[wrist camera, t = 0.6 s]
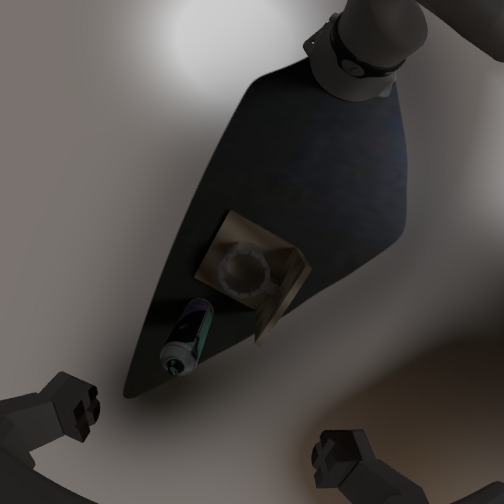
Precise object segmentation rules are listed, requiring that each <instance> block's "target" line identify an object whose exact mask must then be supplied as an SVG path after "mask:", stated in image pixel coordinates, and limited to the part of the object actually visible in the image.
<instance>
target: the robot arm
mask: <svg viewBox="0 0 504 504" xmlns="http://www.w3.org/2000/svg"><path fill="white" fill-rule="evenodd" d="M417 2H418V3H419V4H421V5H422V6H424V7H425V8H426V9H428V10H429V11H431V12H432V13H433V14H435V15H436V16H437V17H439V18H440V19H441V20H443V21H444V22H445V23H446V24H448V25H449V26H450V27H451V28H453V29H454V30H455V31H456V32H457V33H458V34H460V35H461V36H462V37H463V38H465V39H466V40H468V41H469V42H471V43H472V44H474V45H475V46H476V47H478V48H479V49H480V50H482V51H483V52H485V53H486V54H488V55H489V56H490V57H492V58H493V59H495V60H496V61H499V62H504V0H348V1H347V4H346V7H345V9H344V11H343V12H341V13H340V14H339V15H338V14H337V13H334V14H333V15H332V16H331V17H330V19H329V21H330V22H328V23H325V25H324V26H323V27H322V28H321V29H320V30H319V31H317V32H316V33H315V34H314V35H312V36H311V37H310V38H309V39H308V40H306V41H305V43H304V44H303V48H304V50H305V52H306V54H307V55H308V57H309V59H310V64H311V69H312V72H313V75H314V77H315V79H316V80H317V82H318V83H319V84H320V85H321V86H322V87H323V88H324V89H325V90H326V91H327V92H329V93H330V94H332V95H333V96H335V97H337V98H340V99H343V100H346V101H352V102H359V101H364V100H367V99H370V98H387V97H388V96H389V95H390V92H391V88H392V83H393V82H395V80H396V79H397V78H396V73H397V70H398V69H399V68H400V67H401V65H402V64H403V63H404V62H405V60H406V58H407V57H408V56H410V55H411V54H412V53H413V52H415V51H416V50H417V49H419V48H420V47H421V46H422V45H423V44H424V42H425V40H426V38H427V32H428V29H427V23H426V20H425V16H424V14H423V11H422V10H421V8H420V6H419V5H418V3H417ZM312 42H314V44H313V43H312ZM97 394H98V391H97V387H96V386H94V385H92V384H89V383H87V382H85V381H83V380H80V379H78V378H76V377H74V376H71V375H69V374H67V373H65V372H63V371H62V372H59V373H58V374H57V375H56V376H55V377H54V378H53V379H52V380H51V381H50V382H49V383H48V384H47V385H46V387H44V388H43V389H42V391H41V392H40V393H39V394H38V393H36V392H35V393H31V394H27V395H23V396H19V397H14V398H10V399H5V400H1V401H0V504H98V503H95V502H93V501H91V500H89V499H87V498H84V497H82V496H80V495H78V494H76V493H74V492H72V491H70V490H68V489H66V488H64V487H62V486H60V485H59V484H57V483H55V482H53V481H52V480H50V479H48V478H46V477H45V476H43V475H41V474H40V473H38V472H36V471H35V470H33V468H34V466H35V461H34V460H33V458H32V457H31V455H30V453H29V452H30V451H32V450H34V449H36V448H39V447H41V446H43V445H45V444H47V443H49V442H52V441H53V440H56V439H58V438H60V437H62V436H64V435H67V436H69V437H71V438H73V439H75V440H78V441H80V442H82V443H83V442H84V441H85V439H86V438H87V436H88V434H89V433H90V428H89V426H91V425H93V424H95V423H96V421H97V419H98V417H99V414H100V402H99V401H98V400H97V399H96V396H97ZM320 440H321V441H320V442H318V443H316V444H315V446H314V448H313V451H312V456H311V459H312V466H313V467H314V468H315V469H316V470H317V471H316V473H315V474H314V478H315V482H316V488H338V489H339V490H340V491H341V492H342V493H343V494H344V495H345V496H346V498H347V499H348V500H349V501H350V502H351V503H352V504H429V502H428V500H427V498H426V496H425V494H424V491H423V490H422V488H421V487H420V486H418V485H417V484H415V483H414V482H412V481H410V480H409V479H408V478H406V477H405V476H403V475H401V474H400V473H399V472H397V471H396V470H394V469H393V468H391V467H390V466H389V465H387V464H386V463H384V462H383V461H381V460H380V459H376V458H375V455H374V453H373V450H372V448H371V446H370V443H369V441H368V438H367V436H366V434H365V432H364V430H363V429H357V430H324V431H323V432H322V433H321V435H320ZM451 504H504V483H503V482H500V481H496V482H493V483H491V484H489V485H487V486H485V487H483V488H482V489H480V490H478V491H476V492H474V493H472V494H470V495H468V496H466V497H464V498H462V499H460V500H458V501H455V502H453V503H451Z"/></svg>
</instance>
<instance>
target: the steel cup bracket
mask: <svg viewBox="0 0 504 504" xmlns="http://www.w3.org/2000/svg"><path fill="white" fill-rule="evenodd" d="M238 254H250V255H252V256H254V257H255V258H257V259H259V260H260V262H261V263H262V265H263V267H264V270H263V271H262V273H261V274H260V276H259V277H258V278H256V279H254V280H252V281H240V280H238V279H236V278H234V277H233V276H232V275H231V273H230V271H229V270H228V260H229V259H231V258H232V257H234V256H236V255H238ZM218 271H219V282H220V283H221V285H222V286H223V288H224V289H225V291H226V292H228V293H230V294H231V295H233V296H235V297H237V298H252V297H254V296H256V295H258V294H260V293H262V292H265V293H267V294H269V295H271V296H273V297H274V295H275V294H276V292H277V291H278V289H279V288H280V284H279V281H278V280H276V279H275V278H273V277H271V276H270V264H269V258H268V256H267V254H266V253H265V251H264V249H263V248H262V247H261V246H259V245H257V244H255V243H253V242H238V243H236V244H234V245H232V246H231V247H229V248H228V250H227V252H226V253H225V255H224V257H223V259H222V261H221V263H220V265H219V267H218Z"/></svg>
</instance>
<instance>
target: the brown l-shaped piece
mask: <svg viewBox="0 0 504 504" xmlns="http://www.w3.org/2000/svg"><path fill="white" fill-rule="evenodd" d="M238 242H253V243H255V244H257V245H259V246H261V247H262V248H263V249H264V251H265V253H266V254H267V256H268V258H269V264H270V276H271V277H273V278H275V279H276V280H278V281H279V284H280V288H279V289H278V291H277V292H276V294H275V295H274V297H273V296H271V295H269V294H267V293H265V292H262V293H260V294H258V295H256V296H254V297H252V298H237V297H235V296H233V295H231V294H230V293H228V292H226V291H225V289H224V288H223V286H222V285H221V283H220V282H219V271H218V267H219V265H220V263H221V261H222V259H223V257H224V255H225V253H226V252H227V250H228V248H229V247H231V246H232V245H234V244H236V243H238ZM228 270H229V271H230V273H231V275H232V276H233V277H234V278H236V279H238V280H240V281H252V280H254V279H256V278H258V277H259V276H260V274H261V273H262V271H263V270H264V267H263V265H262V263H261V262H260V260H259V259H257V258H255V257H254V256H252V255H250V254H238V255H236V256H234V257H232V258H231V259H229V260H228ZM311 270H312V269H311V267H310V265H309V264H308V262H307V260H306V259H305V257H304V256H303V254H302V253H301V251H300V249H299V248H297V247H295V246H294V245H292V244H290V243H289V242H287V241H285V240H283V239H282V238H280V237H278V236H276V235H275V234H273V233H271V232H269V231H268V230H266V229H264V228H262V227H261V226H259V225H257V224H255V223H254V222H252V221H250V220H248V219H247V218H245V217H243V216H241V215H239V214H238V213H236V212H234V211H232V210H230V211H229V213H228V215H227V217H226V219H225V220H224V222H223V224H222V226H221V228H220V230H219V231H218V233H217V235H216V237H215V239H214V241H213V242H212V244H211V246H210V248H209V250H208V252H207V254H206V255H205V257H204V259H203V261H202V263H201V265H200V267H199V269H198V271H197V272H196V274H195V276H194V278H196V279H198V280H200V281H202V282H203V283H205V284H207V285H209V286H211V287H213V288H214V289H216V290H218V291H220V292H222V293H224V294H225V295H227V296H229V297H231V298H233V299H235V300H237V301H239V302H240V303H242V304H244V305H246V306H248V307H250V308H252V309H254V310H255V344H256V345H259V346H261V345H262V343H263V342H264V340H265V339H266V337H267V336H268V335H269V333H270V332H271V330H272V329H273V328H274V326H275V325H276V323H277V322H278V320H279V319H280V317H281V316H282V314H283V313H284V311H285V310H286V309H287V307H288V306H289V304H290V303H291V301H292V300H293V298H294V296H295V295H296V293H297V292H298V290H299V289H300V287H301V286H302V284H303V283H304V281H305V280H306V278H307V277H308V275H309V273H310V272H311Z"/></svg>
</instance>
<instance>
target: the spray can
mask: <svg viewBox="0 0 504 504" xmlns="http://www.w3.org/2000/svg"><path fill="white" fill-rule="evenodd" d="M213 314H214V310H213V306H212V305H211V303H210V302H209V301H207V300H206V299H203V298H194V299H192V300H191V301H190V302H189V303H188V304H187V306H186V308H185V310H184V311H183V313H182V315H181V317H180V318H179V320H178V322H177V324H176V325H175V327H174V329H173V331H172V333H171V334H170V336H169V338H168V340H167V341H166V343H165V345H164V347H163V349H162V351H161V355H160V360H161V363H162V365H163V366H164V368H165V369H166V370H168V372H169V373H170V374H172V375H181V376H183V375H188V374H190V373H192V372H193V371H194V369H195V367H196V366H197V363H198V360H199V357H200V354H201V351H202V348H203V345H204V341H205V338H206V335H207V332H208V329H209V326H210V324H211V321H212V318H213Z"/></svg>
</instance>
